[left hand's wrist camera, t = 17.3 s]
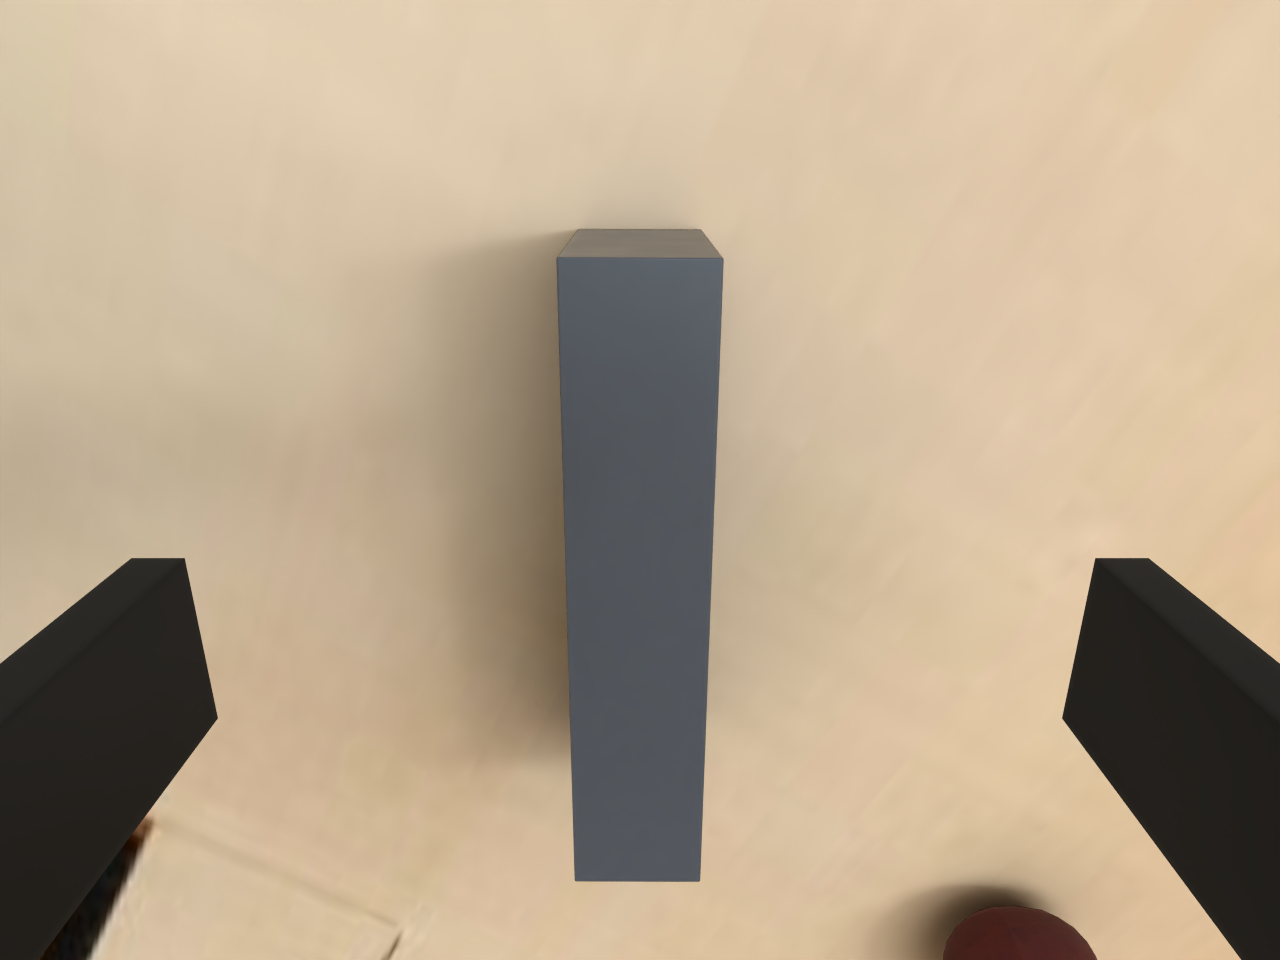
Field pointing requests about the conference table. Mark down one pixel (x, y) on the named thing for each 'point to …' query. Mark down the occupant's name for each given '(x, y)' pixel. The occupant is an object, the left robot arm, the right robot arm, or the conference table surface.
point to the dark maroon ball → (1016, 937)
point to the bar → (638, 541)
